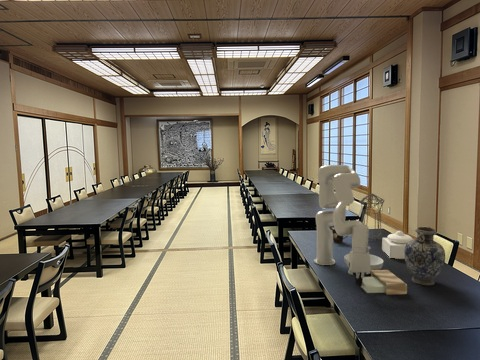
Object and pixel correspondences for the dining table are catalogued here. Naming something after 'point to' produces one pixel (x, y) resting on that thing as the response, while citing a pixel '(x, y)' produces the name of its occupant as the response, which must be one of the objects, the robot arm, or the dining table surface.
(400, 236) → the butter dish
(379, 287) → the pale green flat slab
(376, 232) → the geometric lantern
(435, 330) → the dining table surface
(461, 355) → the dining table surface
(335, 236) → the coffee mug
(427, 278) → the decorative vase
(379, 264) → the serving bowl
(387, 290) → the overhang
